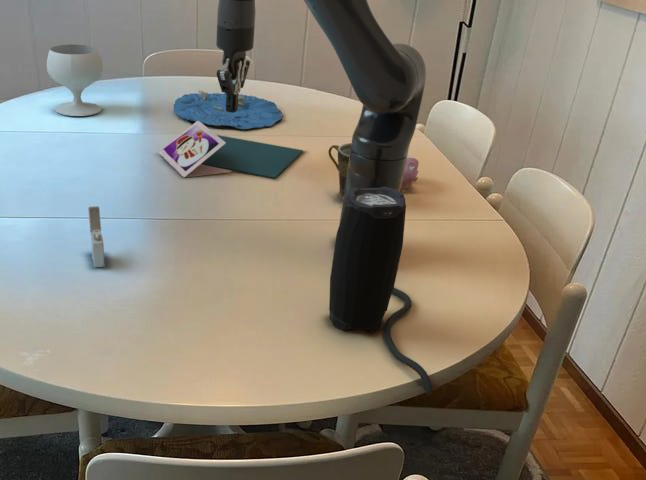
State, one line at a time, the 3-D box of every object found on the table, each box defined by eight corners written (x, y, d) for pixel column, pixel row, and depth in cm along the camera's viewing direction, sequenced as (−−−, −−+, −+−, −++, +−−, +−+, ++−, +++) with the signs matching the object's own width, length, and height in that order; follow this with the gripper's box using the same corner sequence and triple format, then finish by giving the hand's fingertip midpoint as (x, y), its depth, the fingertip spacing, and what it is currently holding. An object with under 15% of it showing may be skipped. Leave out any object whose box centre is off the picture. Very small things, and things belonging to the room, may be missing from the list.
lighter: (104, 266, 116) (102, 221, 112) (94, 267, 116) (91, 221, 111) (101, 247, 122) (98, 203, 117) (90, 248, 121) (87, 203, 117)
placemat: (274, 179, 152) (274, 177, 152) (173, 159, 159) (173, 157, 159) (303, 152, 167) (303, 150, 167) (209, 135, 175) (209, 133, 174)
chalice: (100, 119, 181) (97, 56, 172) (45, 117, 181) (39, 54, 172) (108, 104, 192) (106, 45, 184) (56, 102, 192) (51, 42, 184)
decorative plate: (303, 116, 196) (306, 96, 193) (247, 141, 174) (249, 120, 171) (213, 92, 208) (215, 73, 205) (150, 113, 186) (151, 92, 183)
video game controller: (402, 201, 149) (424, 173, 145) (384, 189, 149) (405, 161, 145) (402, 184, 157) (422, 158, 153) (385, 173, 157) (405, 146, 153)
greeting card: (181, 174, 150) (156, 149, 161) (199, 199, 155) (173, 173, 166) (224, 139, 149) (196, 117, 160) (240, 165, 155) (212, 142, 165)
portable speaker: (312, 317, 106) (329, 192, 95) (355, 299, 111) (375, 178, 100) (356, 343, 101) (378, 213, 89) (398, 323, 106) (425, 198, 94)
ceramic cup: (390, 200, 145) (399, 151, 139) (362, 213, 139) (370, 163, 133) (338, 182, 152) (344, 135, 147) (309, 194, 146) (315, 145, 140)
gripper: (231, 16, 148) (227, 101, 158) (205, 25, 138) (202, 116, 148) (265, 20, 146) (258, 106, 156) (241, 30, 136) (236, 122, 146)
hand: (231, 111), depth 152 cm, fingers closed
